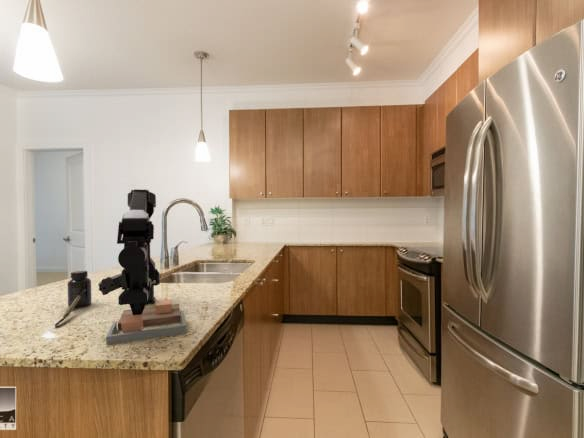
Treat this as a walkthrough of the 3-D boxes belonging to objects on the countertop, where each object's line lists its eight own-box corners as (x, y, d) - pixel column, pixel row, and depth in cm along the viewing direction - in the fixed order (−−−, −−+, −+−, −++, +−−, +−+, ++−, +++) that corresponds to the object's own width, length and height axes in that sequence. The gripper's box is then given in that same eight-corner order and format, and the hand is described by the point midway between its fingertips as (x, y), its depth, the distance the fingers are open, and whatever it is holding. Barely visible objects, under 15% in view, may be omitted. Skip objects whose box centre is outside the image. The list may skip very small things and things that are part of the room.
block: (156, 309, 92) (156, 301, 92) (171, 307, 93) (171, 299, 93) (155, 314, 87) (155, 305, 87) (171, 312, 89) (171, 303, 89)
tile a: (122, 316, 77) (120, 323, 75) (141, 314, 78) (140, 321, 76) (124, 328, 79) (123, 336, 77) (143, 326, 80) (142, 333, 78)
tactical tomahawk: (72, 303, 101) (69, 301, 101) (88, 290, 102) (85, 288, 101) (43, 340, 82) (40, 338, 81) (63, 324, 82) (59, 321, 82)
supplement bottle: (96, 302, 107) (95, 270, 107) (81, 308, 100) (80, 273, 100) (78, 302, 108) (78, 269, 108) (62, 308, 101) (62, 273, 101)
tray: (113, 333, 79) (113, 322, 79) (184, 323, 86) (183, 313, 86) (106, 349, 70) (106, 336, 70) (186, 336, 77) (185, 325, 77)
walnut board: (123, 318, 91) (123, 310, 91) (179, 311, 97) (178, 303, 97) (117, 332, 80) (117, 323, 80) (180, 323, 86) (180, 315, 86)
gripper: (107, 260, 84) (108, 314, 85) (92, 272, 67) (93, 339, 67) (150, 257, 89) (151, 309, 89) (146, 268, 71) (147, 332, 72)
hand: (137, 321), depth 79 cm, fingers closed
